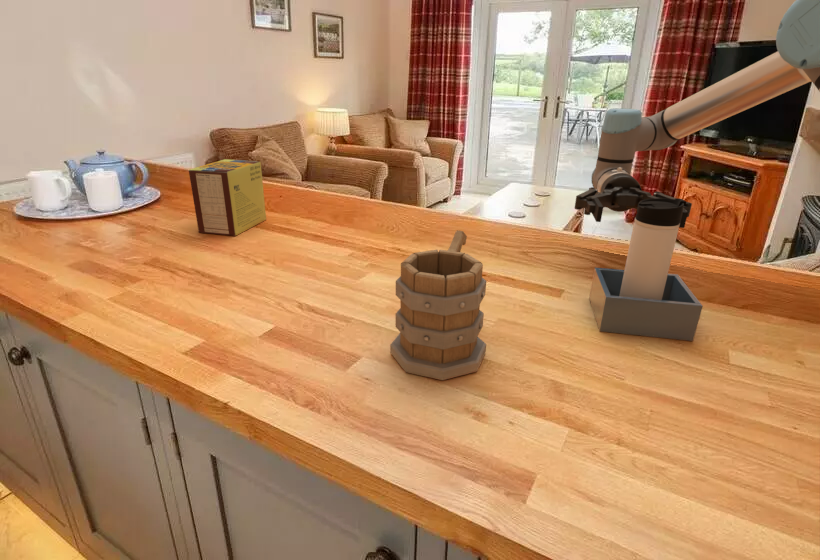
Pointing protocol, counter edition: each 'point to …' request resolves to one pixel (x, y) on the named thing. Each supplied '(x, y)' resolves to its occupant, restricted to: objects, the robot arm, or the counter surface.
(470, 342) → the tankard
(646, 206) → the travel mug
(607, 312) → the holder
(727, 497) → the counter surface
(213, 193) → the protein box
